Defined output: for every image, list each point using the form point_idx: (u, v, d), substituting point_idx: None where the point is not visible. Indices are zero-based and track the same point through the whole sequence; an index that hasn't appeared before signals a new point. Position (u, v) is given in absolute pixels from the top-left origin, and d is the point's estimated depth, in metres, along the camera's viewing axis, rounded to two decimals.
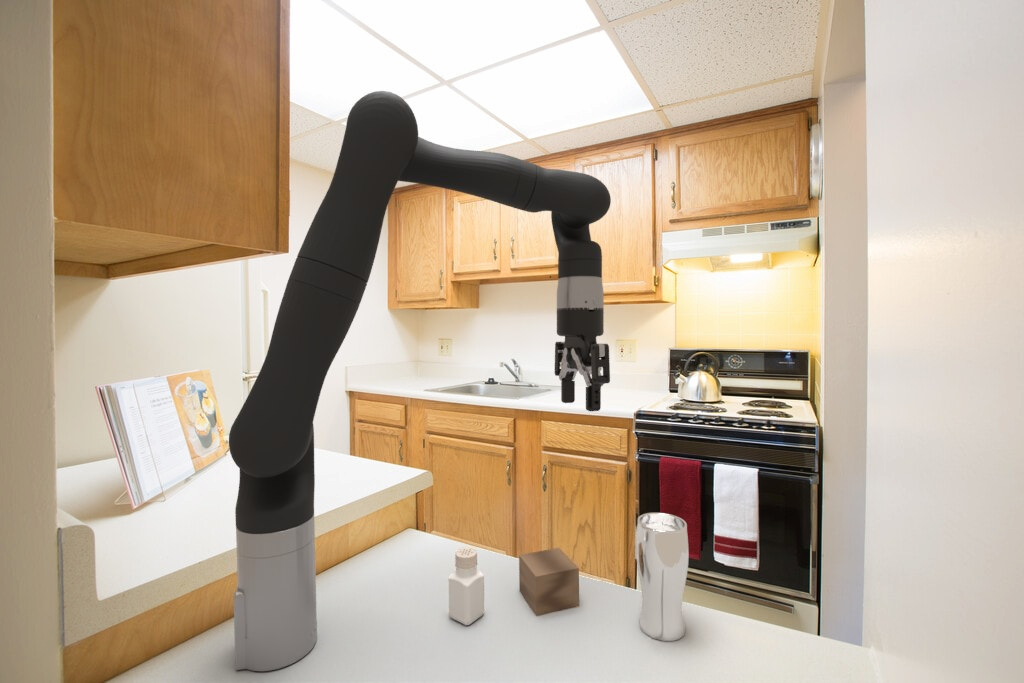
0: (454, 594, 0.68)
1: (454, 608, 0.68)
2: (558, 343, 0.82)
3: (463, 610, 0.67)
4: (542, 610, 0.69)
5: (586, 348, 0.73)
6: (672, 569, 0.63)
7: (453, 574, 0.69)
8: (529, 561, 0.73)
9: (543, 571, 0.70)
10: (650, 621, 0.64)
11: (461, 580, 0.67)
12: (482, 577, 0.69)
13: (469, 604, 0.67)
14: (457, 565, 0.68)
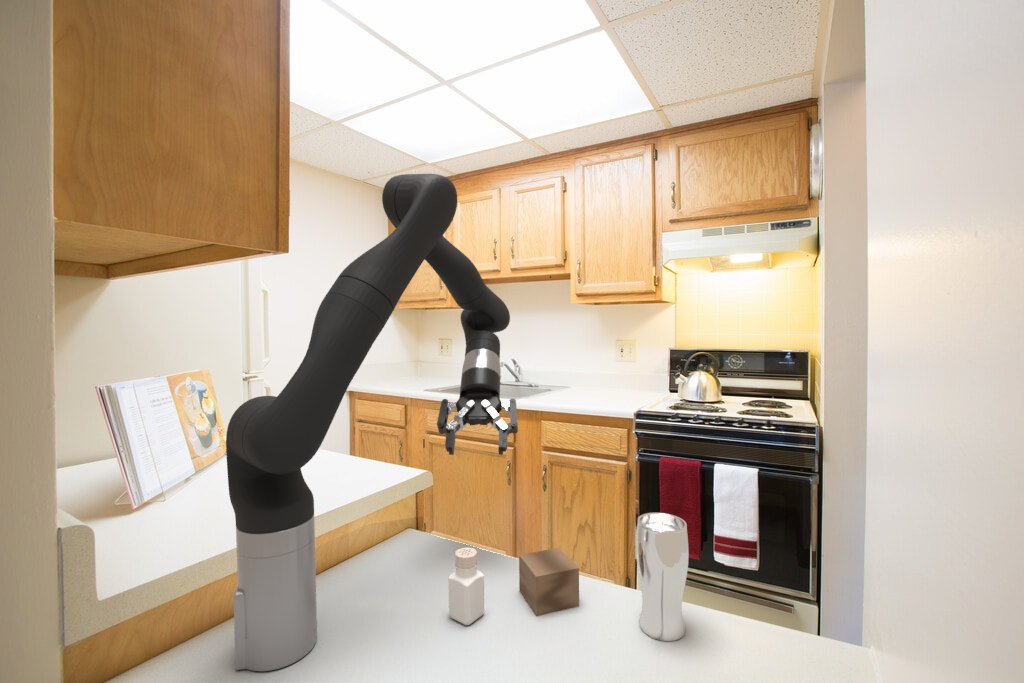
0: (454, 594, 0.68)
1: (454, 608, 0.68)
2: (447, 400, 0.87)
3: (463, 610, 0.67)
4: (542, 610, 0.69)
5: (500, 402, 0.87)
6: (672, 569, 0.63)
7: (453, 574, 0.69)
8: (529, 561, 0.73)
9: (543, 571, 0.70)
10: (650, 621, 0.64)
11: (461, 580, 0.67)
12: (482, 577, 0.69)
13: (469, 604, 0.67)
14: (457, 565, 0.68)
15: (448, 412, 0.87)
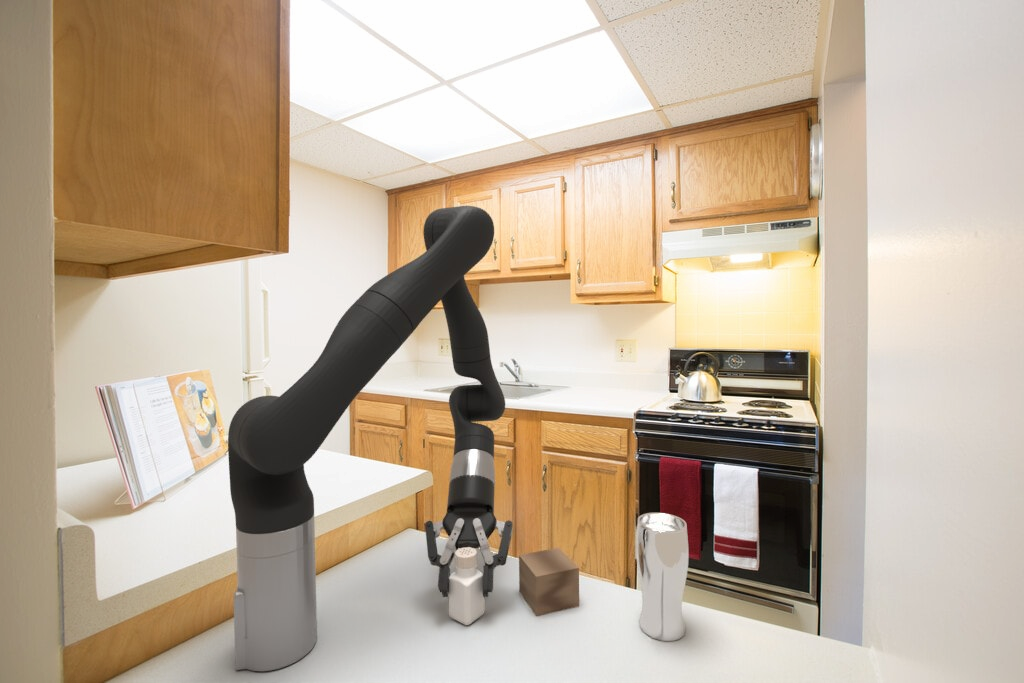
0: (454, 594, 0.68)
1: (454, 608, 0.68)
2: (431, 522, 0.73)
3: (463, 610, 0.67)
4: (543, 610, 0.69)
5: (494, 521, 0.73)
6: (672, 569, 0.63)
7: (453, 574, 0.69)
8: (529, 561, 0.73)
9: (544, 571, 0.70)
10: (650, 621, 0.64)
11: (461, 580, 0.67)
12: (482, 577, 0.69)
13: (469, 604, 0.67)
14: (457, 565, 0.68)
15: (436, 536, 0.73)
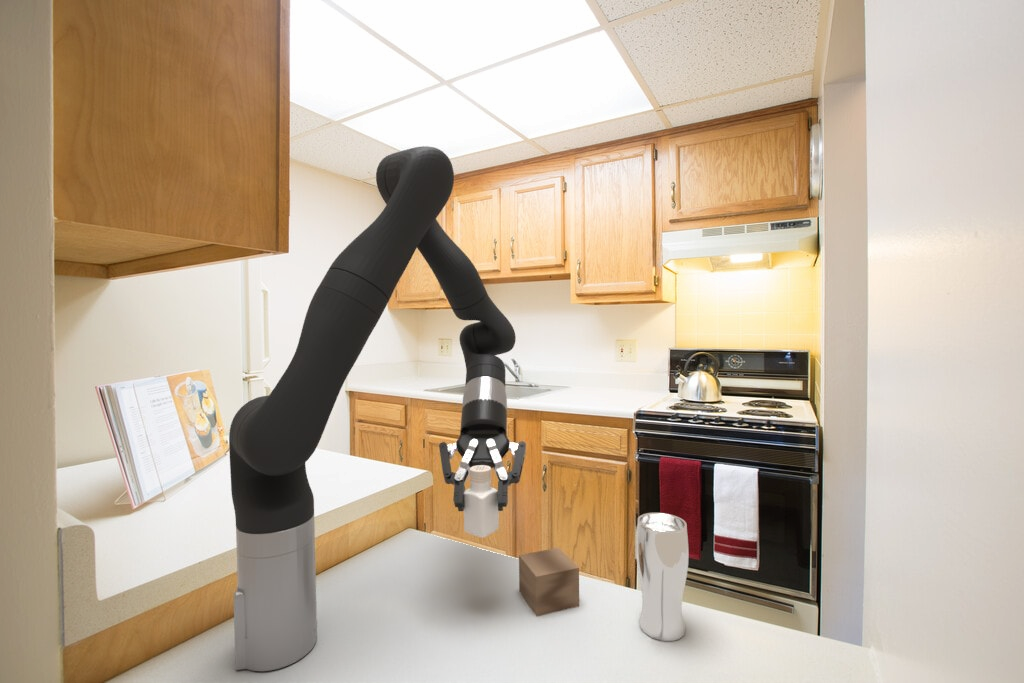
0: (469, 509, 0.69)
1: (469, 522, 0.69)
2: (445, 443, 0.74)
3: (478, 523, 0.68)
4: (543, 610, 0.69)
5: (507, 442, 0.74)
6: (672, 569, 0.63)
7: (468, 490, 0.70)
8: (529, 561, 0.73)
9: (544, 571, 0.70)
10: (650, 621, 0.64)
11: (476, 494, 0.68)
12: (496, 492, 0.70)
13: (485, 516, 0.68)
14: (472, 480, 0.69)
15: (450, 456, 0.74)
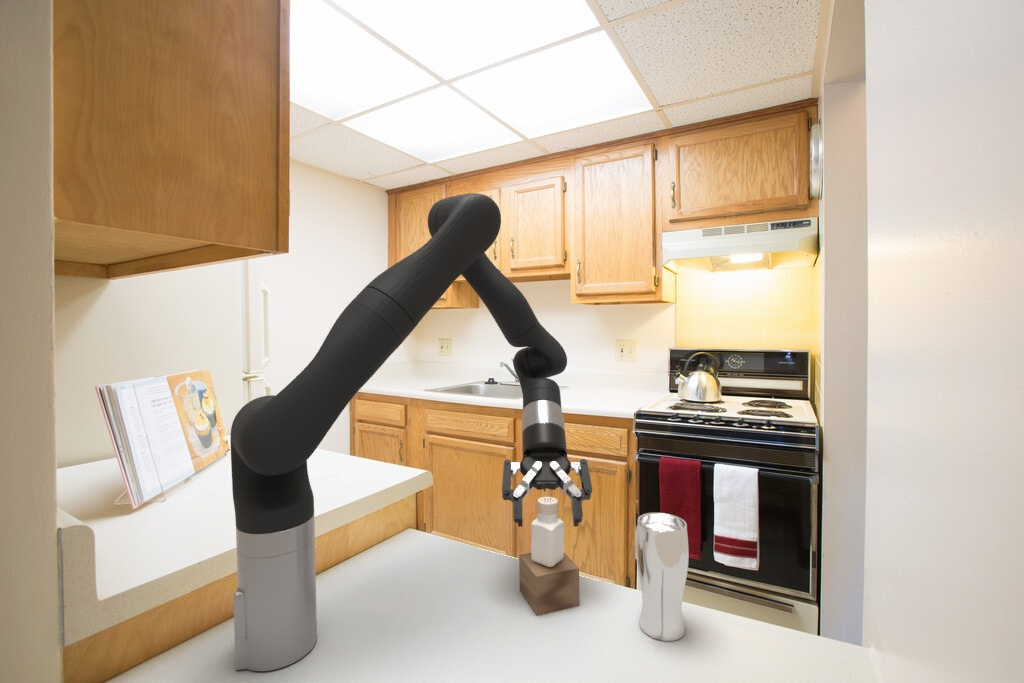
0: (537, 539, 0.72)
1: (537, 552, 0.72)
2: (510, 461, 0.78)
3: (547, 553, 0.71)
4: (543, 610, 0.70)
5: (569, 463, 0.78)
6: (672, 569, 0.63)
7: (535, 521, 0.73)
8: (529, 561, 0.73)
9: (544, 571, 0.70)
10: (650, 621, 0.64)
11: (545, 525, 0.72)
12: (562, 524, 0.73)
13: (553, 547, 0.71)
14: (540, 512, 0.72)
15: (512, 474, 0.77)
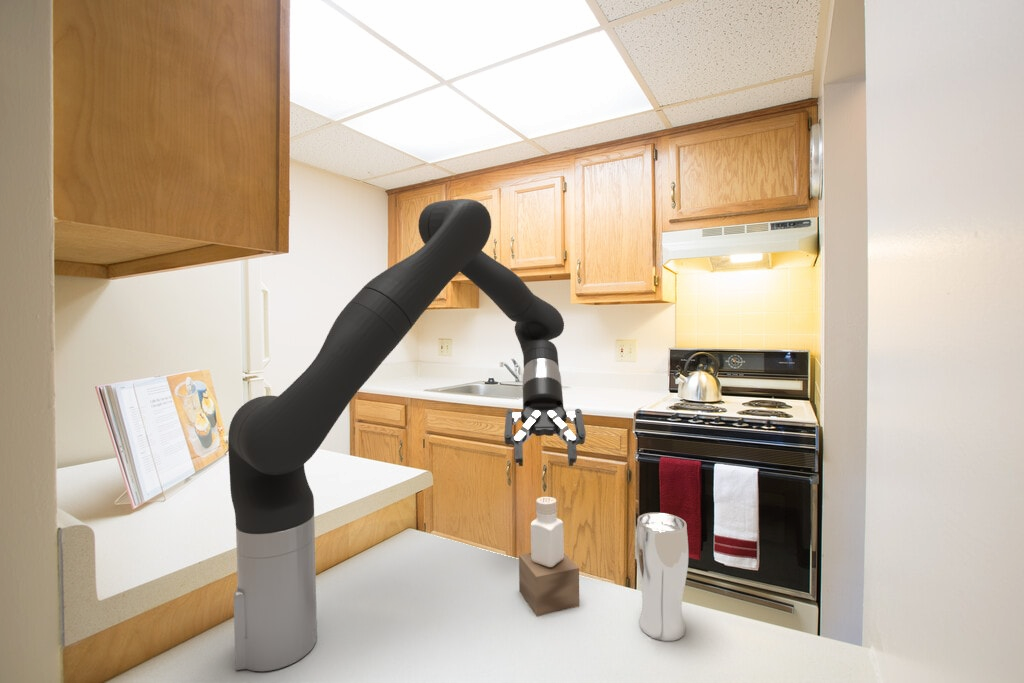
0: (536, 539, 0.72)
1: (537, 552, 0.72)
2: (511, 411, 0.86)
3: (546, 553, 0.71)
4: (543, 610, 0.69)
5: (565, 413, 0.86)
6: (672, 569, 0.63)
7: (534, 521, 0.73)
8: (529, 561, 0.73)
9: (544, 571, 0.70)
10: (650, 621, 0.64)
11: (544, 525, 0.72)
12: (562, 523, 0.73)
13: (552, 547, 0.71)
14: (539, 512, 0.72)
15: (513, 423, 0.86)
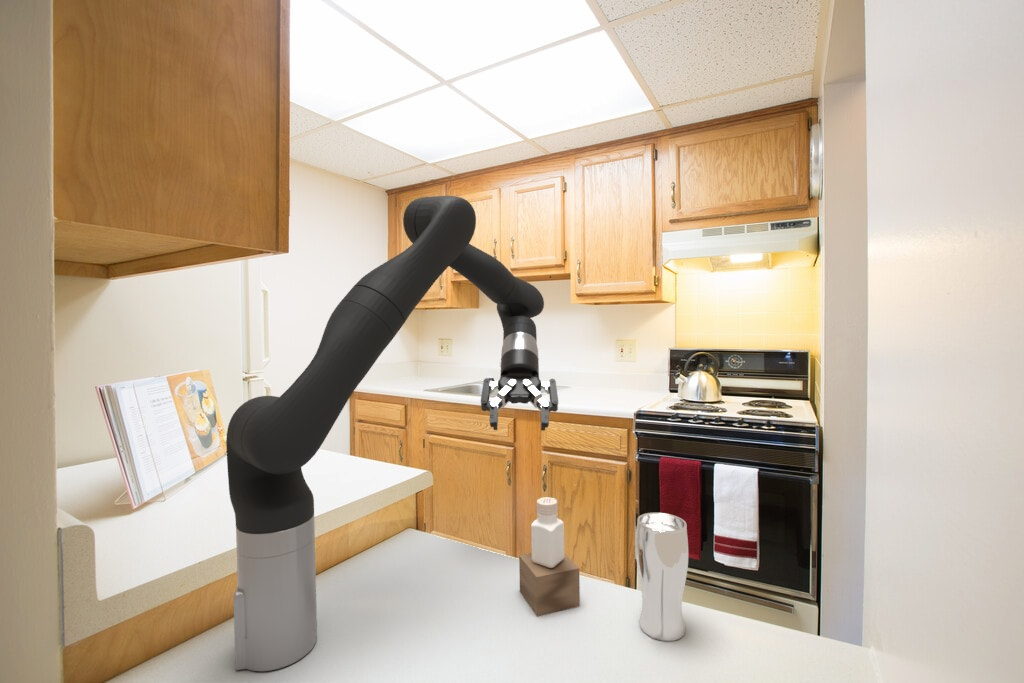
0: (537, 540, 0.72)
1: (537, 553, 0.72)
2: None
3: (547, 554, 0.71)
4: (543, 611, 0.69)
5: (540, 382, 0.90)
6: (672, 569, 0.63)
7: (535, 521, 0.73)
8: (529, 561, 0.73)
9: (544, 571, 0.70)
10: (650, 621, 0.64)
11: (545, 526, 0.71)
12: (562, 524, 0.73)
13: (553, 548, 0.71)
14: (540, 512, 0.72)
15: (490, 391, 0.90)
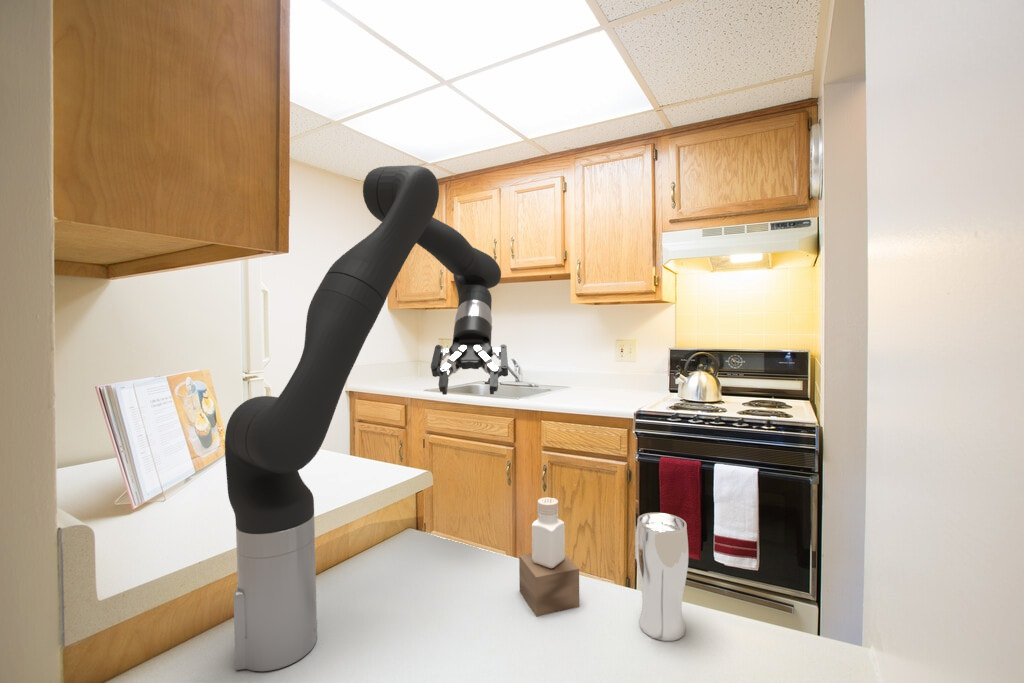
0: (537, 540, 0.72)
1: (538, 553, 0.72)
2: (440, 346, 0.91)
3: (547, 554, 0.71)
4: (543, 611, 0.69)
5: (491, 348, 0.90)
6: (672, 569, 0.63)
7: (536, 521, 0.73)
8: (529, 561, 0.73)
9: (544, 572, 0.70)
10: (650, 621, 0.64)
11: (545, 526, 0.71)
12: (563, 524, 0.73)
13: (554, 548, 0.71)
14: (540, 512, 0.72)
15: (441, 357, 0.90)
